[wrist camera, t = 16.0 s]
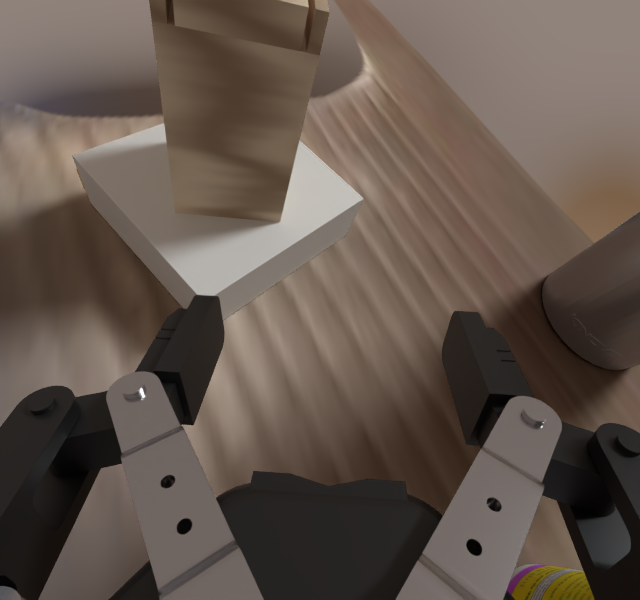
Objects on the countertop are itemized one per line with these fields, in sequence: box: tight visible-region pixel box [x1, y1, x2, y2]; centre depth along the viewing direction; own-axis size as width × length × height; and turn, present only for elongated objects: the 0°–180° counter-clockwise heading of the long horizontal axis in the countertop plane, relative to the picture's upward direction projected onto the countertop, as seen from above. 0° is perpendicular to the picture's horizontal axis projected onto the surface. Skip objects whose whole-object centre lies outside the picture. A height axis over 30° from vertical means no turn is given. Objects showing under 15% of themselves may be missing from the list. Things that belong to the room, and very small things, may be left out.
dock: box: [72, 123, 363, 320], centre depth 26 cm, size 13×12×4 cm
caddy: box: [149, 0, 329, 222], centre depth 19 cm, size 6×6×12 cm
